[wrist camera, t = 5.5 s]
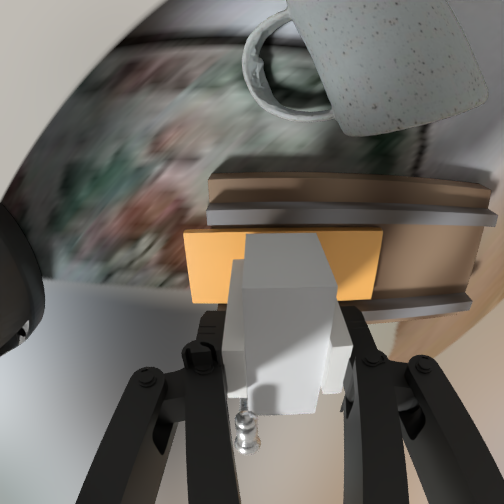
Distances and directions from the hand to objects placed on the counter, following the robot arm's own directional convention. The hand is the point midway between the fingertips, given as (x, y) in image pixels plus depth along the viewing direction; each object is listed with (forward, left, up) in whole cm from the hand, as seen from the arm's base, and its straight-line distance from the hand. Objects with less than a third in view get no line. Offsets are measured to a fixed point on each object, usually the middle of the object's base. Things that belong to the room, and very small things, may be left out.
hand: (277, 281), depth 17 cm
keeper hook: (-2, -3, -2) cm, 4 cm away
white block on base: (+1, 0, -2) cm, 2 cm away
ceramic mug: (+4, +12, -4) cm, 13 cm away
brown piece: (+6, 0, -4) cm, 7 cm away
